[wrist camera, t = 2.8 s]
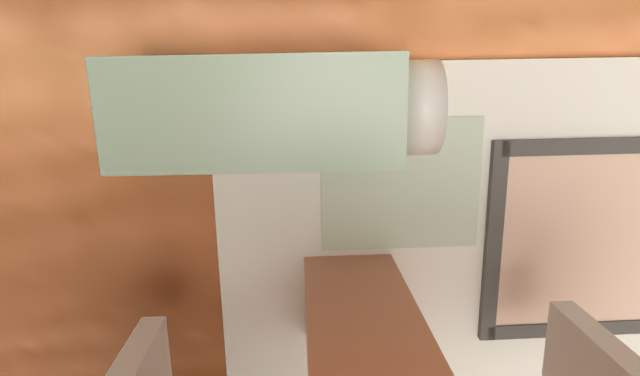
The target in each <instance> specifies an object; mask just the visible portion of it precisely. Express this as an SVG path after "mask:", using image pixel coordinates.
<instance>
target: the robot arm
mask: <svg viewBox="0 0 640 376" xmlns="http://www.w3.org/2000/svg"><path fill="white" fill-rule="evenodd" d="M105 376H172V367H171V358H170V348H169V339H168V329H167V320H166V316H152V317H141V319H140V320H139V322H138V324H137V325H136V327H135V328H134V330H133V331H132V333H131V335H130V336H129V338H128V339H127V341H126V343H125V344H124V346H123V347H122V349H121V350H120V352H119V354H118V355H117V357H116V358H115V360H114V362H113V363H112V365H111V366H110V368H109V369H108V371H107V373H106V374H105ZM542 376H640V356H639V355H637V354H636V353H635V352H634V351H633V350H631V349H630V348H629V347H628V346H627V345H625V344H624V343H623V342H622V341H621V340H619V339H618V338H617V337H616V336H615V335H613V334H612V333H611V332H610V331H609V330H607V329H606V328H605V327H604V326H603V325H601V324H600V323H599V322H598V321H597V320H595V319H594V318H593V317H592V316H591V315H589V314H588V313H587V312H586V311H585V310H583V309H582V308H581V307H580V306H579V305H577V304H576V303H575V302H574V301H573V300H571V301H550V304H549V313H548V322H547V331H546V340H545V349H544V358H543V366H542Z"/></svg>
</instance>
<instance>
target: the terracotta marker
mask: <svg viewBox="0 0 640 376" xmlns="http://www.w3.org/2000/svg"><path fill="white" fill-rule="evenodd" d="M304 275H305V313H306V346H307V371H308V376H454V374H453V372H452V370H451V368H450V366H449V364H448V363H447V361H446V359H445V357H444V355H443V353H442V351H441V349H440V347H439V345H438V343H437V341H436V340H435V338H434V336H433V334H432V332H431V330H430V328H429V326H428V324H427V322H426V320H425V318H424V317H423V315H422V313H421V311H420V309H419V307H418V305H417V303H416V301H415V299H414V297H413V295H412V294H411V292H410V290H409V288H408V286H407V284H406V282H405V280H404V278H403V276H402V274H401V272H400V271H399V269H398V267H397V265H396V263H395V261H394V259H393V257H392V255H391V254H372V255H343V256H314V257H304Z"/></svg>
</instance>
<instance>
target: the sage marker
mask: <svg viewBox="0 0 640 376" xmlns="http://www.w3.org/2000/svg"><path fill="white" fill-rule="evenodd" d="M85 63H86V70H87V78H88V85H89V93H90V100H91V108H92V115H93V123H94V130H95V138H96V145H97V153H98V160H99V168H100V175H101V176H154V175H211V174H269V173H326V172H384V171H406V160H407V155H433V154H438V153H439V152H440V150H441V148H442V146H443V142H444V139H445V134H446V128H447V119H448V85H447V78H446V72H445V68H444V65H443V63H442V62H441V60H439V59H410V60H409V51H368V52H314V53H259V54H205V55H151V56H97V57H85Z"/></svg>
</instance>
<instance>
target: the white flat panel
mask: <svg viewBox="0 0 640 376" xmlns="http://www.w3.org/2000/svg"><path fill="white" fill-rule="evenodd" d="M441 62H442V63H443V65H444V68H445V72H446V78H447V85H448V119H447V128H446V134H445V139H444V142H443V146H442V148H441V150H440V152H439V153H438V154H433V155H407V160H406V171H384V172H326V173H269V174H212V179H213V192H214V206H215V220H216V233H217V247H218V261H219V274H220V288H221V302H222V315H223V329H224V343H225V356H226V370H227V376H308V371H307V346H306V313H305V275H304V257H314V256H343V255H372V254H391V255H392V257H393V259H394V261H395V263H396V265H397V267H398V269H399V271H400V272H401V274H402V276H403V278H404V280H405V282H406V284H407V286H408V288H409V290H410V292H411V294H412V295H413V297H414V299H415V301H416V303H417V305H418V307H419V309H420V311H421V313H422V315H423V317H424V318H425V320H426V322H427V324H428V326H429V328H430V330H431V332H432V334H433V336H434V338H435V340H436V341H437V343H438V345H439V347H440V349H441V351H442V353H443V355H444V357H445V359H446V361H447V363H448V364H449V366H450V368H451V370H452V372H453V374H454V376H542V366H543V358H544V349H545V340H546V331H547V322H548V313H549V304H550V301H571V300H573V301H574V302H575V303H576V304H577V305H579V306H580V307H581V308H582V309H583V310H585V311H586V312H587V313H588V314H589V315H591V316H592V317H593V318H594V319H595V320H597V321H598V322H599V323H600V324H601V325H603V326H604V327H605V328H606V329H607V330H609V331H610V332H611V333H612V334H613V335H615V336H616V337H617V338H618V339H619V340H621V341H622V342H623V343H624V344H625V345H627V346H628V347H629V348H630V349H631V350H633V351H634V352H635V353H636V354H637V355H639V356H640V57H614V58H552V59H489V60H441Z"/></svg>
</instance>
